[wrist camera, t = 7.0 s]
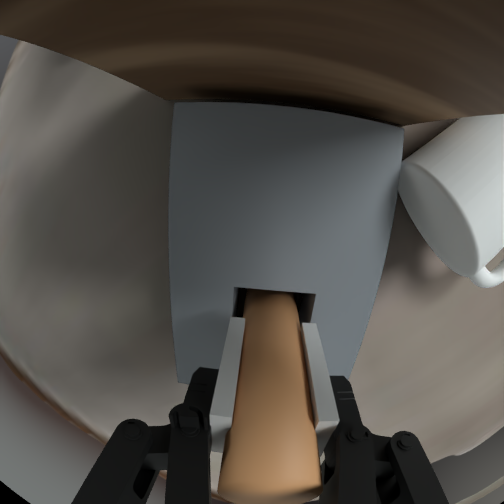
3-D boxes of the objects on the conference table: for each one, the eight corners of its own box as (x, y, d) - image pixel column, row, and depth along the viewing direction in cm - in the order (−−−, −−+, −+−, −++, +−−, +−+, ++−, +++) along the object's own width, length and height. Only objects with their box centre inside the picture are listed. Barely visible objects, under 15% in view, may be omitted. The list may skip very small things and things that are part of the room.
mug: (377, 161, 17) (444, 168, 9) (463, 100, 14) (533, 90, 7) (440, 289, 19) (493, 342, 12) (509, 224, 17) (568, 252, 10)
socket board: (193, 113, 16) (174, 102, 12) (377, 133, 16) (404, 128, 12) (190, 349, 22) (178, 382, 18) (333, 361, 22) (342, 394, 18)
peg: (247, 273, 19) (215, 472, 6) (297, 277, 19) (336, 474, 6) (244, 315, 20) (218, 504, 7) (291, 319, 20) (309, 506, 7)
